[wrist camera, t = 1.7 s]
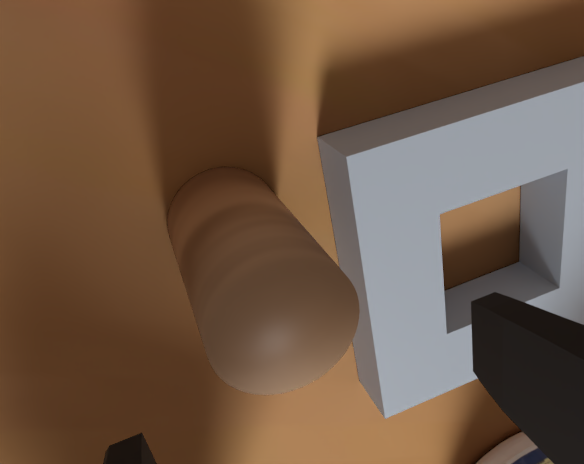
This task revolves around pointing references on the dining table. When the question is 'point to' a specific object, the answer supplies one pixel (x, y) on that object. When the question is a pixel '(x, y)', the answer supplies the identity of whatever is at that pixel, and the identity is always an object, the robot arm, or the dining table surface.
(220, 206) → the dowel
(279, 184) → the dining table surface
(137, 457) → the robot arm
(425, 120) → the socket block
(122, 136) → the dining table surface
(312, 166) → the dining table surface
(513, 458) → the supplement tub
